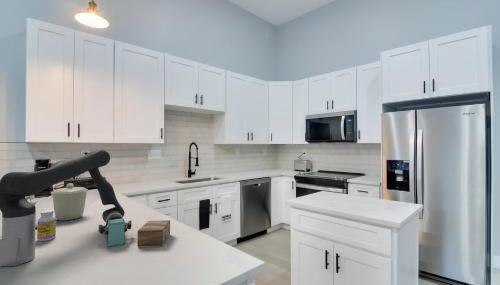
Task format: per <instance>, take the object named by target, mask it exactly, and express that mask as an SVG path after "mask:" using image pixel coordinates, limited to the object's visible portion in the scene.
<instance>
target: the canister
mask: <svg viewBox="0 0 500 285" xmlns="http://www.w3.org/2000/svg"><path fill="white" fill-rule="evenodd" d="M88 191H89V189H87V188H85V187H83V186H82V187H81V186H75V185H74V183H71V182H70V183H67V184H66V187H62V188H57V189H55V190H53V191H51V192H50V194H51V195H52V203H53V204H52V205H53V211H54V216H55V217H56V221H57V220H58V221H71V220H72V221H73V220H76V219H78V218H79V219H80V218H81V217H83V215H84V212H85V206H86V199H87V192H88Z"/></svg>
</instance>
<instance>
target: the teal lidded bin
mask: <svg viewBox="0 0 500 285" xmlns="http://www.w3.org/2000/svg"><path fill="white" fill-rule="evenodd" d="M124 224H125V218H124V217H123V218H122V219H114V220H108V229H109V235H107V236H108V237H107V238H108V239H107V247H108V248H114V247H119V246H124V245H125V233H124Z"/></svg>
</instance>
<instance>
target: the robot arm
mask: <svg viewBox="0 0 500 285" xmlns="http://www.w3.org/2000/svg"><path fill="white" fill-rule="evenodd" d="M110 162H111V155H110V153H109V152H108V151H107V150H105V149H97V150H94V151H91V152H88V153H86V154H85V155H81V156H73V157H70V158H65V159H62V160H58V161H57V162H54V163H53V164H52V165H51V166H50V167H49V168H46V169H42V170H38V171H10V172H8V173H7V172H6V173H5V174H4V175H3V176H2V177H1V178H0V212H1V217H2V218H1V239H0V267H16V266H19V265H21V264H22V265H23V264H25V263H28V262H30V261H33V260H34V259H35V258H36V256H35V255H36V228H35V220H36V217H37V216H36V215H37V212H36V211H37V210H36V209H37V206H36V204H35V205H33V204H31V203H30V202H29V200H26V197H29V196H32V195H34V196H35V195H37V194H38V193H40V192H42V191H45V190H46V189H48V188H49V187H52V186H54V185H57V184H60V183H63V182H65V181H68V180H71V179H74V178H77V177H78V176H81V175H83V174H84V173H86V172H88V173H89V176H90V177H91V179H92V181H93V182H94V184H95V187H96V189H97V191H98V194H99V197H100V198H99V199H100V201H101V203H102V205H103V206H109V205H110V206H111V205H112V206H114V207H111V208H108V209H106V210H104V211H103V212H102V214H101V216H102V217H101V218H102V221H103V222H104V223H105V225H103V224H98V232H99V234H100V235H102V234H104V235H105V236H108V235H109V229H108V220H114V219H122V218H124V216H125V214H126V213H125V210H124V208H123V207H122V205H121V204H120V202H119V201H118V199H117V197H116V193H115V191H114V188H113V185H112V184H111V183H110V182H109V181H108V180H107V179H105V177H104V176H102V173H101V172H100V169H99V168H102V167H105V166H107V165H108V164H109V163H110ZM132 221H133V220H129V221H127V222H125V224H124V234H125V233H127V232H128V230H132Z"/></svg>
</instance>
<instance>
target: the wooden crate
mask: <svg viewBox="0 0 500 285" xmlns="http://www.w3.org/2000/svg"><path fill="white" fill-rule="evenodd" d="M170 236H171V220H148V221H147V222H146V223H145V224H143V225H142V226H141V227H140V228H139V229H138V230H137V239H136V241H137V243H136V246H137V248H154V247H153V246H160V247H163V246H164V244H165V242H166V241H167V239H168V238H169V237H170Z"/></svg>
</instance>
